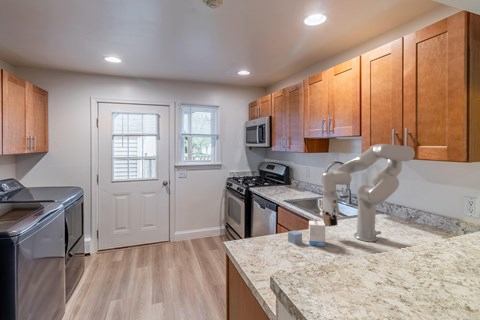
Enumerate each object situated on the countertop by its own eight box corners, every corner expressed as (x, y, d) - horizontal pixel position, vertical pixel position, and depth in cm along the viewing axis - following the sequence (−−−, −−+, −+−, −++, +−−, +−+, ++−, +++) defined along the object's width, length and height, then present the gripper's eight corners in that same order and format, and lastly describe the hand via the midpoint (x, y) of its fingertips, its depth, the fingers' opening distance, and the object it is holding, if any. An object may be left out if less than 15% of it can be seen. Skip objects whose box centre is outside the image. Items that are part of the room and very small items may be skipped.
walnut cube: (331, 222, 151) (331, 213, 151) (337, 225, 146) (337, 216, 146) (323, 223, 150) (323, 214, 150) (329, 226, 145) (328, 217, 144)
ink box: (325, 246, 135) (326, 222, 135) (309, 245, 137) (309, 221, 136) (323, 240, 144) (323, 218, 143) (308, 239, 145) (308, 217, 145)
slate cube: (295, 239, 146) (295, 230, 145) (301, 242, 141) (302, 233, 141) (287, 241, 143) (288, 231, 143) (294, 244, 138) (294, 234, 138)
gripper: (344, 195, 140) (345, 227, 141) (326, 190, 156) (327, 218, 157) (332, 196, 138) (333, 228, 139) (315, 191, 154) (316, 220, 155)
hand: (330, 223), depth 148 cm, fingers closed on walnut cube, 5 cm apart
